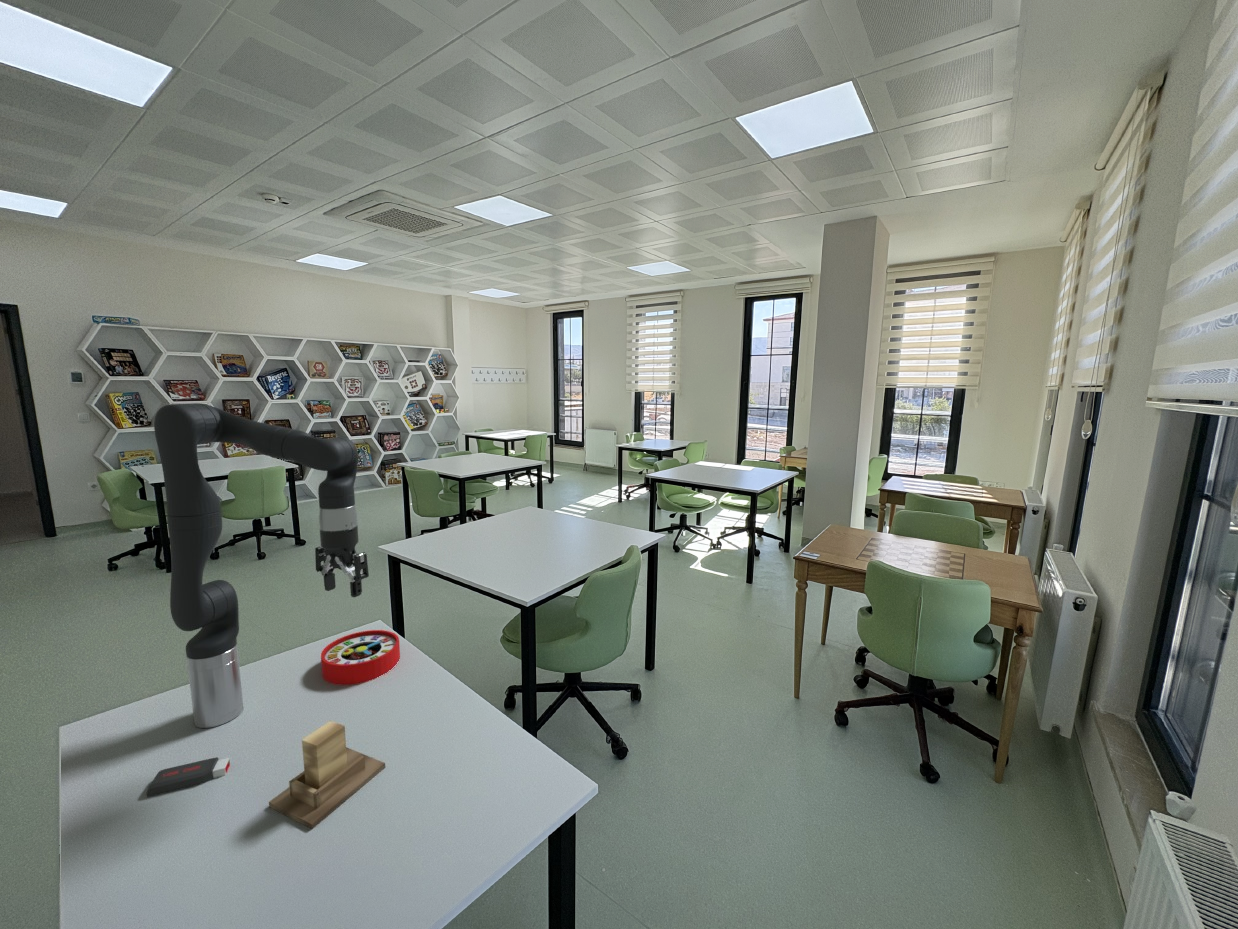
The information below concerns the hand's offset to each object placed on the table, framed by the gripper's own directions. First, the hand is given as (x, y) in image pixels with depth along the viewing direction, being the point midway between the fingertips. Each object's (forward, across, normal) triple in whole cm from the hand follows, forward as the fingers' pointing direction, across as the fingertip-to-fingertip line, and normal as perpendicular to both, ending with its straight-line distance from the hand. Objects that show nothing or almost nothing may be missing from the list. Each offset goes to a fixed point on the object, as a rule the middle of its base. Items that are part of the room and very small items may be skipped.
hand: (343, 592), depth 112 cm
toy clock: (+33, -18, +18) cm, 41 cm away
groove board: (+32, +14, -16) cm, 38 cm away
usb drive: (+33, -14, -26) cm, 44 cm away
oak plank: (+31, +14, -16) cm, 38 cm away
